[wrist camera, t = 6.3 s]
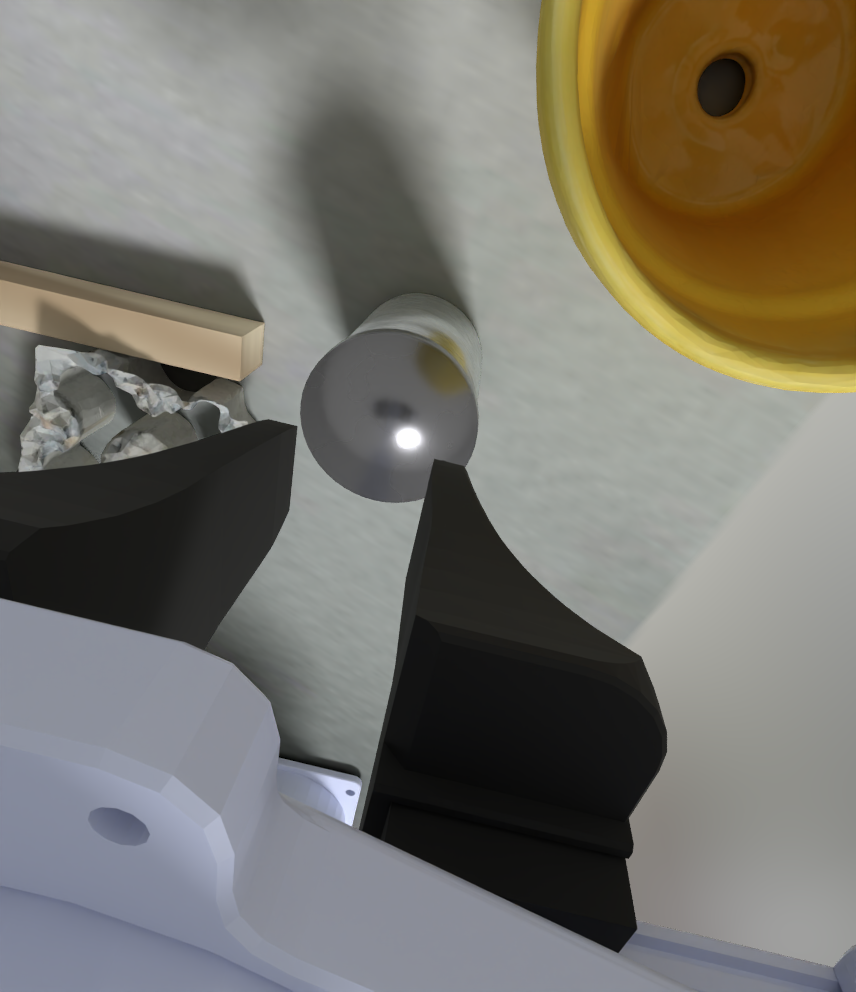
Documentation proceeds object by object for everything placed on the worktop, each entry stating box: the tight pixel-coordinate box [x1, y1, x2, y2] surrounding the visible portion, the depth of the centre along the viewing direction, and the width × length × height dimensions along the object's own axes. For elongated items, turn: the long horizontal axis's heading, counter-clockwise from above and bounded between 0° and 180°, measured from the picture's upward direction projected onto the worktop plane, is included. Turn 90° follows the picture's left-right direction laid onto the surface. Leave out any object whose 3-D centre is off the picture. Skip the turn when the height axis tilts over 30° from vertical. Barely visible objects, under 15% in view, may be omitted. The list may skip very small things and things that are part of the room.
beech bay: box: [0, 260, 265, 381], centre depth 24 cm, size 20×14×2 cm
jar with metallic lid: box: [300, 293, 482, 503], centre depth 18 cm, size 5×5×6 cm
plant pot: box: [536, 0, 856, 393], centre depth 12 cm, size 10×10×10 cm
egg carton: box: [17, 345, 256, 472], centre depth 22 cm, size 11×8×4 cm
